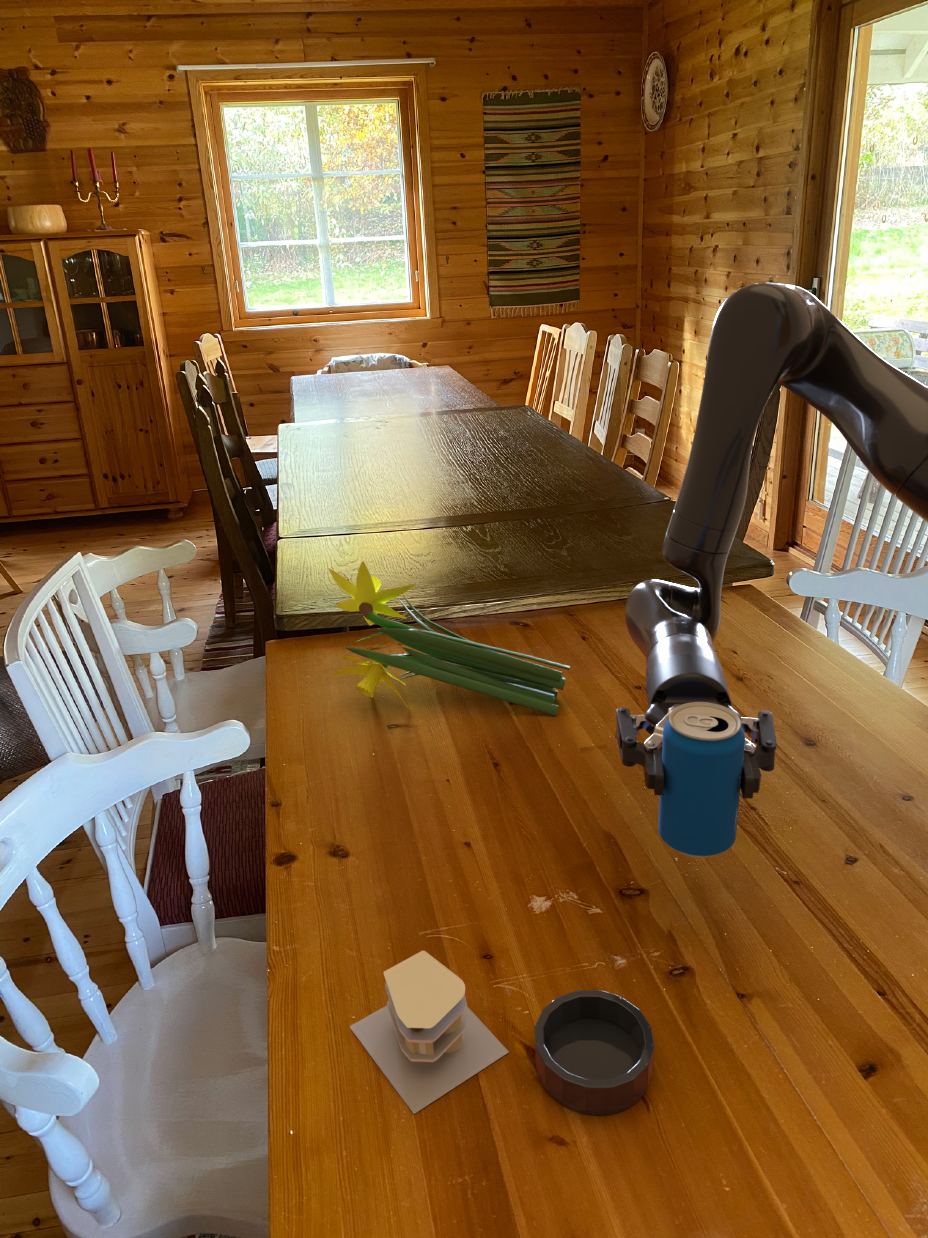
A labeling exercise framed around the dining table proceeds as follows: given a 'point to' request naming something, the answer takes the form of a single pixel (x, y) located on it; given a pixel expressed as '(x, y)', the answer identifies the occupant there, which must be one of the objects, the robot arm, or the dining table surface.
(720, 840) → the beverage can
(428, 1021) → the stacked layers on plate
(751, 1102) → the dining table surface
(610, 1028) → the bowl
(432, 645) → the daffodil flowers
